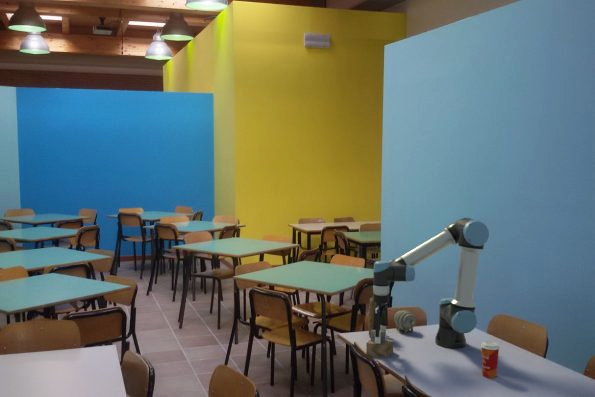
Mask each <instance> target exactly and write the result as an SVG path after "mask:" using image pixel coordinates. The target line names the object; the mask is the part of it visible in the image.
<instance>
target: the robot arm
mask: <svg viewBox="0 0 595 397" xmlns="http://www.w3.org/2000/svg"><path fill="white" fill-rule="evenodd" d="M489 237H490V231H489V229H488V226H487V225H486V224H485V223H484V222H482V221H481V220H479V219H474V218H470V217H463V218H460V219H457V220H456V221H454V222H452V223H451V224H449V225H447V226H446V227H444V228H443V231H442V232H440V233H438V234H436V235H435V236H433V237H432V238H431V237H430V239H428V240H426V241H424V242H423V243H422V244H419V245H418V246H417V247H415V248H413V249H411V250H410V251H408V252H406V253H405V254H403V255H401V256H400V257H398V258H396V259H391V260H389V261H386V260H375V261H374V263H373V270H372V272H373V276H372V277H373V280H372V281H373V286H372V289H373V291H372V292H373V294H372V297H373V301H374V302H376V309H374V320H373V330H375V343H377V344H381V330H383V331H385V340H386V339H387V327H388V326H389V315H388V314H389V313H388V311H389V308H388V307H389V302H390V295H389V294H390V282H405V283H408V282H413V281H415V278H416V270H415V267H416V266H418V265H420V264H421V263H422V262H424V261H426V260H428V259H429V258H431V257H432V256H435V255H437V253H440V252H441V251H443V250H444V249H446V248H447V247H449V246H452V245H453V246H455V245H458V248H459V250H460V254H459V261H458V262H459V263H458V269H457V276H456V277H457V278H456V284H455V289H454V291H455V292H454V297H444V298H443V297H442V298H441V299H440V300H439V304H438V305H439V312H438V314H439V316H438V317H439V318H438V320H439V322H438V330H437V333H436V335H435V339H434V342H435V344H436V345H438V346H439V347H444V348H448V349H449V348H450V349H452V348H453V349H458V348H459V349H460V348H464V347H466V346H467V339H466V335H465V334H469V333H470V332H472V331H473V330H475V328H476V326H477V324H478V318H477V315H476V314H475V313H476V304H475V303H474V295H475V289H476V288H475V287H476V280H477V275H478V274H477V272H478V266H479V265H478V264H479V259H480V258H479V257H480V253H481V252H482V251H483V250H484V247H485V244H486V243H487V242H488V239H489ZM380 329H381V330H380Z"/></svg>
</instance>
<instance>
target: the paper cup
mask: <svg viewBox="0 0 595 397" xmlns="http://www.w3.org/2000/svg"><path fill="white" fill-rule="evenodd" d="M480 348H481V370H482V376H483V377H484V378H487V379H494V378H496V377H497V372H498V363H499V360H498V359H499V350H500V345H499V344H498V342H494V341H482V342H481V344H480Z"/></svg>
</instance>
